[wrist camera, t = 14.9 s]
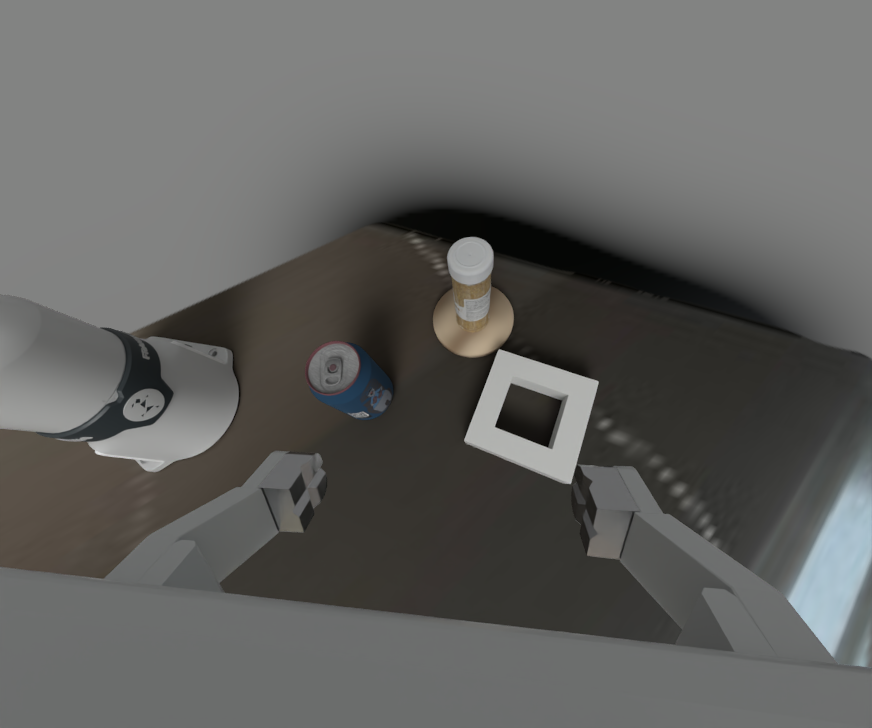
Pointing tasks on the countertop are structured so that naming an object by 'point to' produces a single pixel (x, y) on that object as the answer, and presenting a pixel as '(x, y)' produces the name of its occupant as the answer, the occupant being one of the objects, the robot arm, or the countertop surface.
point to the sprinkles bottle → (471, 281)
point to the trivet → (473, 341)
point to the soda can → (348, 380)
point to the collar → (568, 426)
